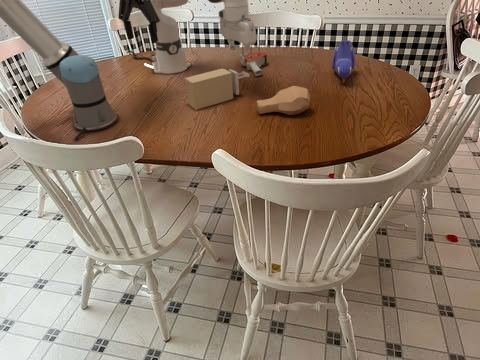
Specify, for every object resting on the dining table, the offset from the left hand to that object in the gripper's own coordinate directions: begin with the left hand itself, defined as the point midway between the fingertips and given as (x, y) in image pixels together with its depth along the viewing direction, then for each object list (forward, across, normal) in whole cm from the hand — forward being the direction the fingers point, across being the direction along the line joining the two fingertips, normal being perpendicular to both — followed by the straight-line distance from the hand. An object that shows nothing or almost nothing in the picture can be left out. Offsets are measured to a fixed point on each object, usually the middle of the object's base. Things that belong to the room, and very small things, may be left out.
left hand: (142, 40), depth 143 cm
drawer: (+21, -33, -9) cm, 40 cm away
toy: (+22, -68, -49) cm, 86 cm away
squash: (+22, -60, -7) cm, 64 cm away
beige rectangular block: (+22, -30, -2) cm, 37 cm away
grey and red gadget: (+22, -25, -43) cm, 55 cm away
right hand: (+5, -36, -16) cm, 39 cm away
